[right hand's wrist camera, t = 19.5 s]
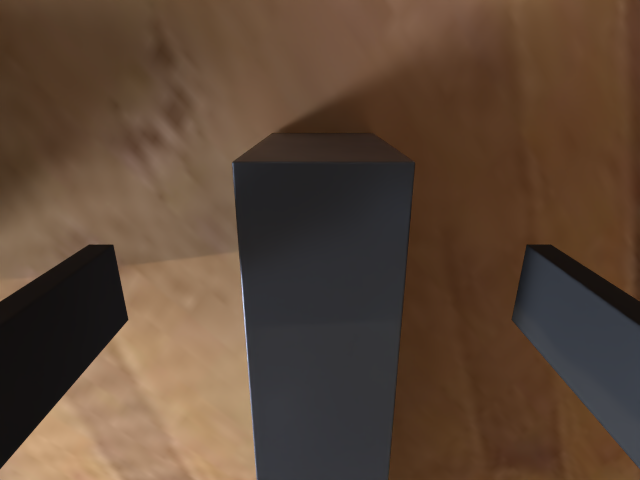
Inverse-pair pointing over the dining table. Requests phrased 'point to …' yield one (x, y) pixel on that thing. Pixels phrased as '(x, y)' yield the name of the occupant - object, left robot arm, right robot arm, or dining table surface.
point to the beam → (323, 299)
